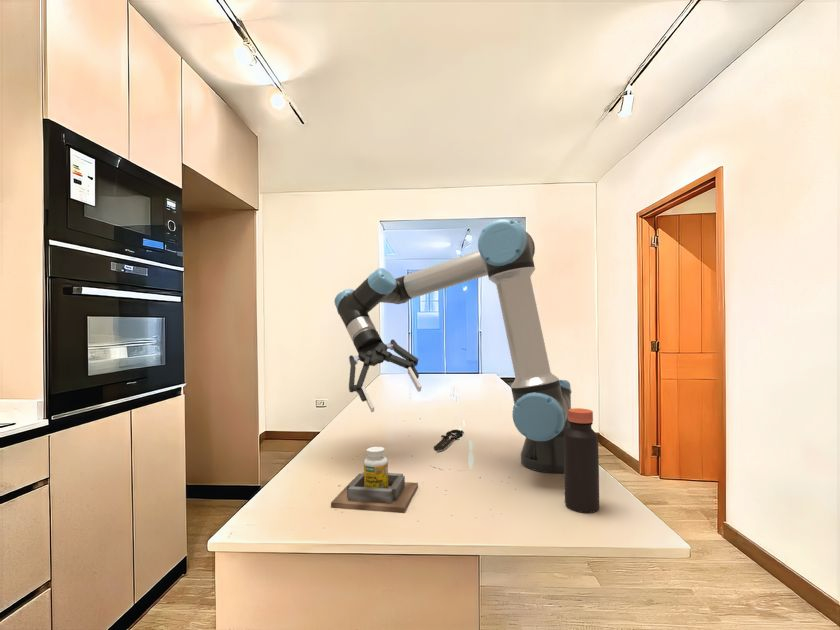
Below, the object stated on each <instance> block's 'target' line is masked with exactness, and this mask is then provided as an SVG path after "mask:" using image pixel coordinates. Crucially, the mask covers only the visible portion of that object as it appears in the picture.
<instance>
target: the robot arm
mask: <svg viewBox="0 0 840 630" xmlns="http://www.w3.org/2000/svg"><path fill="white" fill-rule="evenodd" d="M477 249H478V250H476V251H474V252H470V253H468V254H464V255H461V256H458V257H455V258H453V259H449V260H447V261H443V262H440V263H438V264H434V265H432V266H429V267H425V268H424V269H420V270H416V271H413V272H411V273H408V274H406V275H402V276H400V277H396V278H395V277H394V275H392V273H390V272H389V271H388V270H386V269H385V268H383V267H379V268H377V269H376V270H374V271H373V272H372V273H370V274H369V275H368V277H366V278H365V280H363V282H361V283H360V284H359V285H358V286H357V287H356V288H355V289H352V288H348V289H344V290H343V291H340V292H339V293H337V294H336V296H335V298H334V306H335V307H336V310H337V313H338V315H339V316H340V319H341V321H342V323H343V324H344V327H345V329H346V331H347V332H348V335H349V337H350V339H351V341H352V343H353V346H354V348H355V350H356V352H357V353H358V355H349V357H348V360H349V364H350V369H349V379H348V380H349V381H348V392H349V393H355V392H356V393H357V394H358V397H359V398H360V400H361V402H363V403H364V402H366V404H367V406H368V408H369V410H370V412H371V413H374V412H375V406H374V404H373V402H372V400H371V398H370V395H369V393H368V391H367V390H366V387H365V386H364V382H365V379H366V377H367V373H368V371H369V369H370V366H371V367H375V366H377V365H378V364H382V363H384V361H385V362H387V363H392V364H394V365H396V366H399V367H402V368H403V369H407V374H408V376H409V378H410V379H411V381H412V383H413V385H414V387H415V389H416V391H417V393H419V392H422V391H421V390H422V385H421V382H419V381H420V380H418V379H419V375H420V374H419V372H418V371H417V369H416V367H418V363H419V359H418V357H416V356H414V355H413V354H412V353H411V352H409V351H408V350H406V349H405V348H403V347H402V346H400V345H399V344H398V343H397V342H396V340H395V339H391V340H390V342H388V343H386V344H385V343H384V342H383V339H382V338H381V336H380V333H379V332H378V330H377V329H376V327H375V325H374V323H373V321H372V319H371V317H370V314H369V313H370V312H371V311H372V310H373V309H374V308H375V307H376V306H378V305H379V304H380V303H387V304H395V305H401V304H405V303H408V302H409V301H410V300H412V299H414V298H417V297H421V296H424V295H427V294H431V293H434V292H438V291H440V290H444V289H447V288H450V287H453V286H458V285H460V284H463V283H467V282H470V281H473V280H476V279H479V278H483V277H485V276H488V277H487V278H488V280H489V281H490V282H492V283H494V284H495V286H496V290H497V294H498V299H499V304H500V309H501V313H502V319H503V324H504V329H505V334H506V339H507V344H508V349H509V354H510V359H511V363H512V367H513V368H512V369H513V373H514V381H513V382H512V383H511V385H510V389H511V393H512V394H511V395H512V399H513V404H514V405H513V407H512V416H511V417H512V421H513V424H514V426H515V428H516V430H517V431H518V432H519V434H521V435H523V436H524V437H525V439H524V443H523V446H522V449H521V453H520V463H521V465H522V466H524V467H525V468H528V469H530V470H534V471H538V472H542V473H550V474H551V473H552V474H558V473H559V474H560V473H561V474H562V473H564V433H565V431H566V430H567V429H568V428H569V427H570V423H569V421H568V410H569V409H572V398H571V395H572V389H571V388H572V387H571V383H570V382H569V381H568V380H566V379H559V377H558V376H556V375H555V374H554V373H552V372H551V367H550V361H549V359H548V353H547V348H546V343H545V339H544V336H543V335H544V334H543V329H542V325H541V321H540V320H541V319H540V315H539V311H538V307H537V302H536V301H537V300H536V297H535V293H534V288H533V283H532V275H533V274H534V272H535V270H536V267H535V261H534V257H535V253H536V251H535V250H536V246H535V242H534V240H533V237H532V236H531V234H530V233H529V232H527V231H526V230H525V228H524V226H522V224H520V223H519V222H517V221H515V220H513V219H510V218H509V219H508V218H500V219H495V220H493V221H491V222H490V223H489V222H488V224H487V225H486V226H485V227H484V228H483V229H482V231H481V232H480V234H479V237H478V240H477ZM388 349H389V350H391V351H393V352H394V353H395V354H397V355H398V356H397V355H395V354H392V352H390V351H388ZM358 361H360V362H363V365H362V369H361V371H360V374H359V376H358V379H357V382H356V380H355V378H356V365H358V363H359V362H358ZM355 382H356V384H355Z"/></svg>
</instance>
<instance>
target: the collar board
mask: <svg viewBox="0 0 840 630" xmlns="http://www.w3.org/2000/svg"><path fill="white" fill-rule="evenodd" d="M418 488H419V482H411V481H406V478H405V475H404V473H398V472H397V473H395V472H388V489H386V488H370V487H364V471H363V472H361V473H358V474H357V475H356V476H355V477H354V478H353V479H352V480H351V481H350V482H349V483H348V484H347V485H346V486H345V487H344V488H343V490H341V492H339V493H338V494H337V496H336V497H335V498H334V499H333V500H331V502H330V507H331V508H337V509H353V510H361V511H362V510H363V511H364V510H366V511H376V512H377V511H378V512H390V513H391V512H392V513H393V512H394V513H403V514H404V513H406V510H407V509H408V507H409V505H410V503H411V501H412V500H413V498H412V497H414V495H415V494H416V492H417V490H418ZM411 499H412V500H411Z"/></svg>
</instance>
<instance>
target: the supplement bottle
mask: <svg viewBox="0 0 840 630" xmlns="http://www.w3.org/2000/svg"><path fill="white" fill-rule="evenodd" d="M385 453H386V451H385V447H383V446H372V447H368V448H367V449H366V458H365V459H364V460H363V461H364V462H363V472H364V487H370V488H386V489H388V473H389V461H388V459H387V457H386V456H385Z"/></svg>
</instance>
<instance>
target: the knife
mask: <svg viewBox="0 0 840 630" xmlns="http://www.w3.org/2000/svg"><path fill="white" fill-rule="evenodd" d="M463 434H464V431H463V429H462V430H460V429H451V430H449V431H447V432H446V434H445V435H443V434H442V435H440V437H441V439H440V440H439V442H437V443H436V444H435V445H434V446H433V448H434V449H435V450H436V453H438V452H439V453H440V452H443V451H446V450H447V449H448V447H450V446H452V444H453V443H454V442H455V441H460V440H461V437H462V436H463ZM451 435H452V436H451ZM454 436H455V437H454Z"/></svg>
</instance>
